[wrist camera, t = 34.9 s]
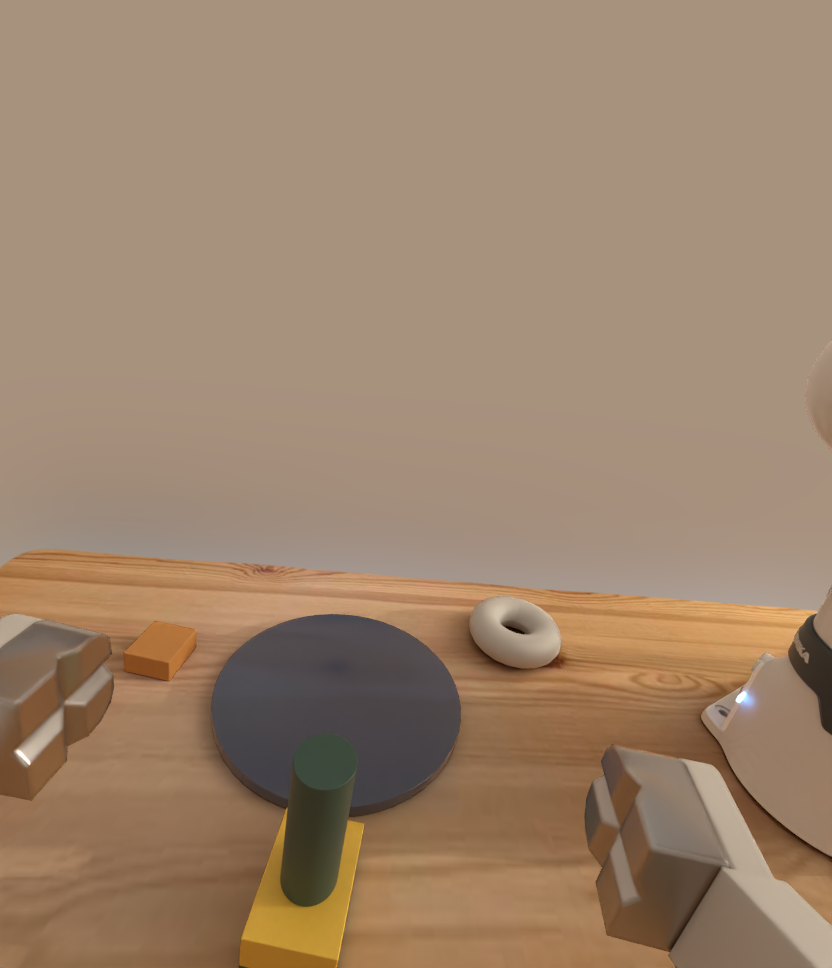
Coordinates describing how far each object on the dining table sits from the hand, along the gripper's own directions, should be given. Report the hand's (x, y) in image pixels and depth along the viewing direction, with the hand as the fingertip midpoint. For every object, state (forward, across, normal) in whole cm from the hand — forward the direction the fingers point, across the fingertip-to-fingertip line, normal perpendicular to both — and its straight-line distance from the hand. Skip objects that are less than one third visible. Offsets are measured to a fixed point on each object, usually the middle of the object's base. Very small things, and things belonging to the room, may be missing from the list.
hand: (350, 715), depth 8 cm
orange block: (+28, +20, +28) cm, 44 cm away
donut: (+40, -12, +28) cm, 51 cm away
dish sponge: (+12, +2, +28) cm, 30 cm away
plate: (+28, +4, +28) cm, 40 cm away
